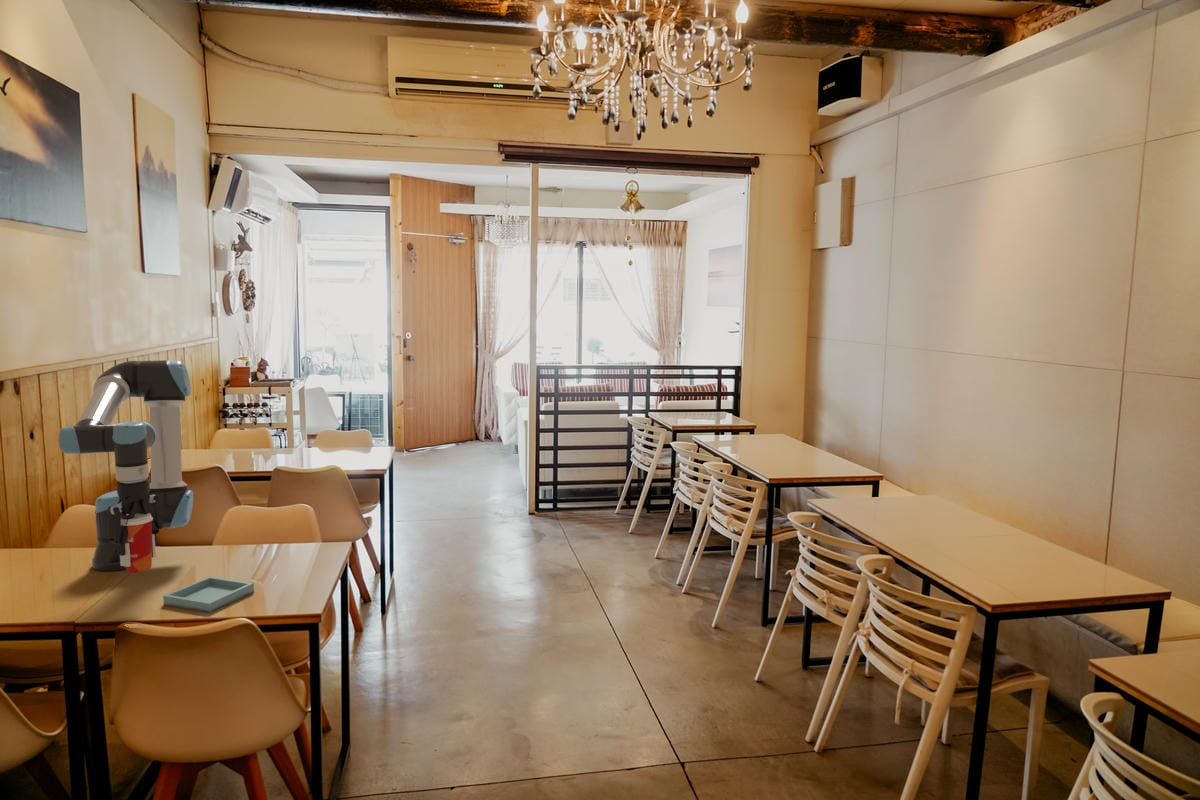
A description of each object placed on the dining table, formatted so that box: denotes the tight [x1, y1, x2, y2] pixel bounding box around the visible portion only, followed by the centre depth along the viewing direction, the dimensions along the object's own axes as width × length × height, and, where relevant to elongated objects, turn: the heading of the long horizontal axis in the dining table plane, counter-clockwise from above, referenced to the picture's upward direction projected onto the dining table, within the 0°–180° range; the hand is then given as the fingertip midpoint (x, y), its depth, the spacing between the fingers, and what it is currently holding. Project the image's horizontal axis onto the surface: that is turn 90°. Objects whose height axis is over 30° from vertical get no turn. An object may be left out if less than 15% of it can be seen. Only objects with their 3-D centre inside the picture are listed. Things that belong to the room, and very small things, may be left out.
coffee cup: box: [121, 513, 153, 573], centre depth 204 cm, size 8×8×15 cm
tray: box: [163, 576, 255, 614], centre depth 211 cm, size 16×16×3 cm
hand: (138, 560), depth 205 cm, fingers closed on coffee cup, 7 cm apart
